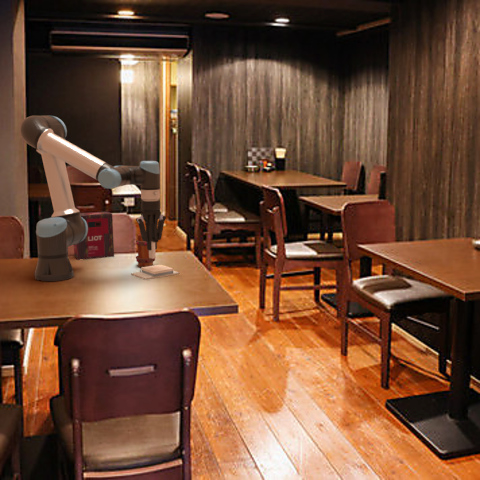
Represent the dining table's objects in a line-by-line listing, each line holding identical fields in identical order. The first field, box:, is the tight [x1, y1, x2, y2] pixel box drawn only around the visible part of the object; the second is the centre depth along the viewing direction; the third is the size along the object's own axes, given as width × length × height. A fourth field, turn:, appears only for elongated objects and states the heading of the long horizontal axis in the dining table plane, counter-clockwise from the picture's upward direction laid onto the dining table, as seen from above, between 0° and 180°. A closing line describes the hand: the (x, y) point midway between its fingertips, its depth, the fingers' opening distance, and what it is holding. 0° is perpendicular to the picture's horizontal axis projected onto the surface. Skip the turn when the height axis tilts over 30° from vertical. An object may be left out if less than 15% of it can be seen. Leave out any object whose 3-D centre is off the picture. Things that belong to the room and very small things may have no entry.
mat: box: [130, 270, 180, 281], centre depth 271 cm, size 11×16×1 cm
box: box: [73, 211, 115, 261], centre depth 305 cm, size 16×9×20 cm, turn 115°
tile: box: [140, 264, 174, 277], centre depth 270 cm, size 10×2×9 cm
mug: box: [135, 231, 156, 267], centre depth 287 cm, size 15×8×15 cm, turn 14°
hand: (152, 257), depth 269 cm, fingers closed
